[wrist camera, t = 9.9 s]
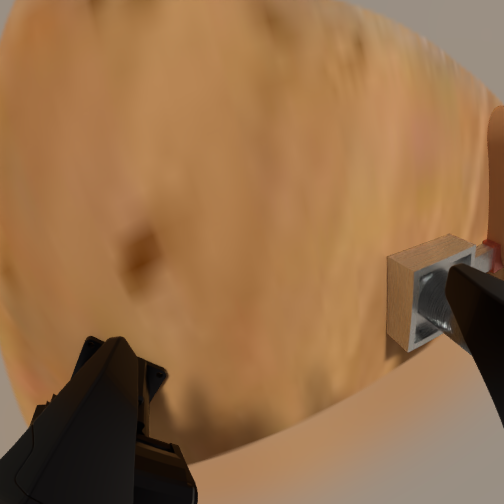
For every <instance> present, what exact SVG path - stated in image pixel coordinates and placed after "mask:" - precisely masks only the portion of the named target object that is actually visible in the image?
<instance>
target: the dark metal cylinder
mask: <svg viewBox="0 0 504 504" xmlns="http://www.w3.org/2000/svg"><path fill="white" fill-rule="evenodd" d="M447 277H448V271H445V270H442V271H439V272H437V273H435V274H434V275H433V276H431V277H430V279H429V280H428V281H427V282H426V284H425V285H424V287H423V289H422V291H421V293H420V296H419V300H418V310H419V313H420V315H421V316H422V317H424V318H425V319H426V320H427V321H429V322H430V323H431V324H433V325H434V326H435V327H436V328H438V329H439V330H440V331H442V332H443V333H444V334H445V335H447V336H448V337H449V338H450V339H452V340H453V341H454V342H455V343H457V344H458V345H460V346H461V347H462V348H463V349H464V350H465V351H467V352H468V353H469V354H470V355H471V353H470V351H469V349H468V347H467V345H466V343H465V341H464V338H463V336H462V334H461V331H460V329H459V326H458V324H457V322H456V319H455V317H454V315H453V312H452V310H451V308H450V305H449V303H448V301H447V299H446V296H445V286H446V282H447Z"/></svg>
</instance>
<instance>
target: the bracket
mask: <svg viewBox="0 0 504 504" xmlns="http://www.w3.org/2000/svg"><path fill="white" fill-rule="evenodd" d="M487 141H488V158H489V219H488V235H487V239H489V240H491V241H494V242H496V243H498V244H501V260H502V263H503V266H504V106H498V107H496V108H495V109H494V111H493V112H492V114H491V117H490V120H489V125H488V135H487Z"/></svg>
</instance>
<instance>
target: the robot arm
mask: <svg viewBox="0 0 504 504" xmlns="http://www.w3.org/2000/svg"><path fill="white" fill-rule="evenodd" d="M445 296H446V299H447V301H448V303H449V305H450V308H451V310H452V312H453V315H454V317H455V319H456V322H457V324H458V326H459V329H460V331H461V334H462V336H463V338H464V341H465V343H466V345H467V347H468V349H469V351H470V353H471V355H472V357H473V359H474V361H475V363H476V365H477V367H478V369H479V370H480V373H481V375H482V377H483V379H484V382H485V384H486V386H487V388H488V390H489V393H490V395H491V397H492V400H493V402H494V404H495V407H496V409H497V412H498V414H499V417H500V419H501V422H502V425H503V427H504V281H502V280H500V279H498V278H496V277H494V276H491V275H489V274H487V273H485V272H482V271H480V270H478V269H476V268H473V267H471V266H469V265H466V264H464V263H460V264H456V265H453V266H451V267H450V269H449V271H448V277H447V282H446V286H445ZM89 342H92V343H93V344H94V345H91V344H90V343H89ZM158 373H162V374H158ZM165 378H166V370H165V369H164V368H163V367H160V366H158V365H155V364H153V363H151V362H148V361H146V360H144V359H142V358H139V357H137V356H136V355H135V353H134V352H133V350H132V348H131V347H130V345H129V344H128V342H127V341H126V339H125V338H124V337H121V336H119V337H111V338H109V339H108V340H107V341H106V342H103V341H101V340H99V339H97V338H95V337H93V336H89V337H87V338H86V340H85V343H84V345H83V348H82V350H81V353H80V355H79V358H78V361H77V363H76V366H75V369H74V372H73V374H72V377H71V380H70V381H69V382H68V383H67V384H66V386H65V387H64V388H63V389H62V390H61V391H60V392H59V393H58V395H55V394H53V396H52V399H51V402H49V401H47V403H46V405H37V407H36V410H35V413H34V415H33V418H32V421H31V424H30V426H29V428H28V429H27V431H26V432H25V433H24V434H23V435H22V436H21V438H20V439H19V440H18V441H17V442H16V443H15V445H14V446H13V447H12V448H11V449H10V450H9V451H8V452H7V453H6V454H5V455H4V456H3V457H2V458H1V459H0V504H197V502H198V492H197V487H196V484H195V481H194V479H193V477H192V475H191V473H190V471H189V468H188V466H187V464H186V462H185V460H184V457H183V455H182V453H181V451H180V448H179V446H178V445H175V444H172V443H170V444H168V443H165V442H162V441H159V440H156V439H153V438H150V437H149V403H150V401H151V400H152V398H153V397H154V395H155V394H156V392H157V390H158V389H159V387H160V386H161V384H162V382H163V381H164V379H165Z"/></svg>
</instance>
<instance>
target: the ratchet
mask: <svg viewBox="0 0 504 504" xmlns="http://www.w3.org/2000/svg"><path fill="white" fill-rule="evenodd" d="M460 263H464V264H466V265H469V266H471V267H473V268H476V269H478V270H480V271H482V272H485V273H486V272H488V271H490V272H492V273H495V272H497V271H498V270H500V269H501V268H503V267H504V266H503V263H502V260H501V244H498V243H496V242H494V241H491V240H489V239H486V240H484V241H483V244H481V245H479V246H477V247H476V245H475V244H473V243H471V242H468V241H466V240H464V239H461V238H459V237H456V236H454V235H452V234H447V235H445V236H442V237H439V238H437V239H434V240H431V241H429V242H426V243H423V244H420V245H418V246H415V247H412V248H409V249H407V250H404V251H401V252H398V253H395V254H392V255H390V256H387V267H388V299H387V330H386V333H387V334H388V335H389V336H390V337H392V338H393V339H394V340H395V341H396V342H397V343H398V344H399V345H400V346H401V347H402V348H403V349H404V350H405V351H406V352H407V353H408V352H410V351H412V350H414V349H416V348H418V347H419V346H421V345H423V344H425V343H427V342H429V341H430V340H432V339H434V338H436V337H438V336H439V335H441V334H443V332H442V331H440V330H439V329H438V328H436V327H435V326H434V325H433V324H431V323H430V322H429V321H427V320H426V319H425V318H424V317H422V316H421V315H420V313H419V310H418V300H419V296H420V293H421V291H422V289H423V287H424V285H425V284H426V282H427V281H428V280H429V279H430V277H431V276H433V275H434V274H435V273H437V272H439V271H442V270H445V271H449V269H450V267H451V266H453V265H456V264H460Z"/></svg>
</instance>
